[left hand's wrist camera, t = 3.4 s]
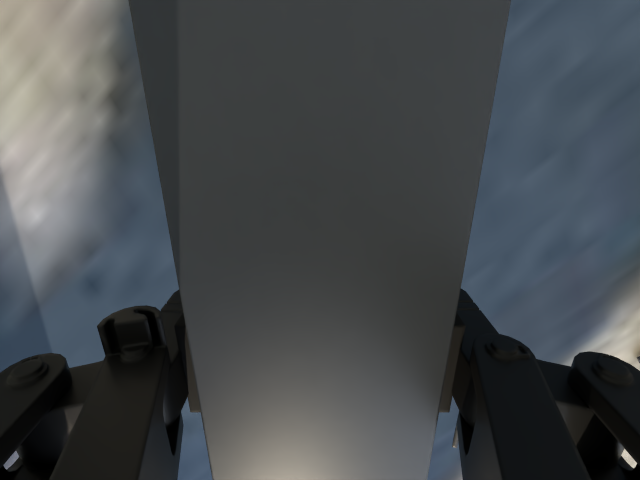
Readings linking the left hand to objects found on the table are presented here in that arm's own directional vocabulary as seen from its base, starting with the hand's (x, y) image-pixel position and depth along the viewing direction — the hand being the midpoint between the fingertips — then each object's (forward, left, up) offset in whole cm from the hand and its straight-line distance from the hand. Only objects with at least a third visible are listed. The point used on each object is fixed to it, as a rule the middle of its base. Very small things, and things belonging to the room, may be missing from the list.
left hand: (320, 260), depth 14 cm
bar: (+5, +5, -1) cm, 7 cm away
